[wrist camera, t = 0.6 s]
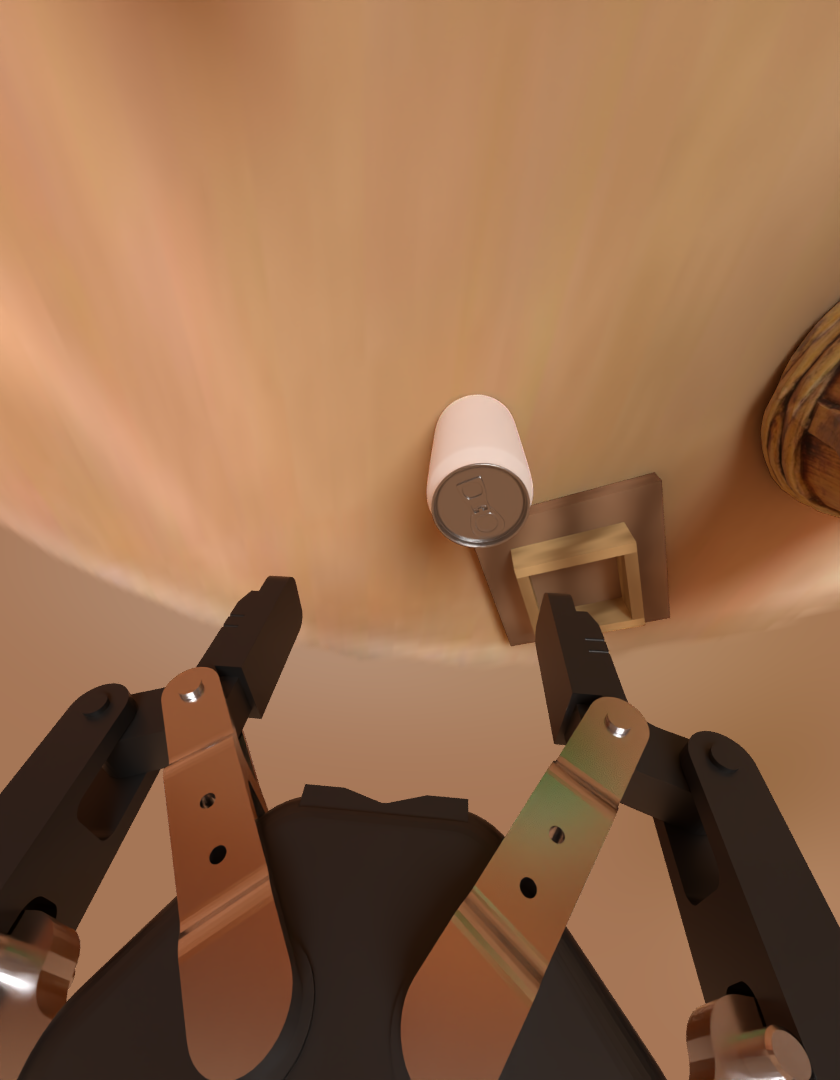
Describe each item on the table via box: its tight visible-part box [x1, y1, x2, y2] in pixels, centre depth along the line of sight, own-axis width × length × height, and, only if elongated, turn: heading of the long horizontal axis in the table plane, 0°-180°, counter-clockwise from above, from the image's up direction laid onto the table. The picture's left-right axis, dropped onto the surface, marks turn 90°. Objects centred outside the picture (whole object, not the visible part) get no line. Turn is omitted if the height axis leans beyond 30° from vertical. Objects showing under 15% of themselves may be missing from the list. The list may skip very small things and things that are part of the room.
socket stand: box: [475, 472, 670, 646], centre depth 38 cm, size 16×16×4 cm
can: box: [426, 395, 533, 548], centre depth 28 cm, size 6×6×12 cm
